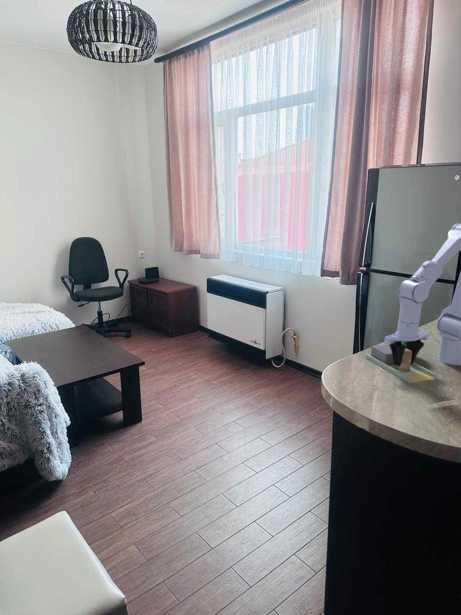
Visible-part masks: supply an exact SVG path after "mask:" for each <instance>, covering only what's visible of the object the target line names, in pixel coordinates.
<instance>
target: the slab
mask: <svg viewBox="0 0 461 615" xmlns="http://www.w3.org/2000/svg"><path fill="white" fill-rule="evenodd" d="M370 351H371V352H370V356H372V357H374V358H375V359H377V360H379V361H381V362H383V363H384V364H386V365H388V366H391V365H395V364H394V360H393V355H392V351H391V348H390V346H389V345H388V344H383V345H382V344H380V345H374V346H373V345H372V346H371V350H370Z"/></svg>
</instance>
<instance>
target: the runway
mask: <svg viewBox="0 0 461 615" xmlns="http://www.w3.org/2000/svg"><path fill="white" fill-rule="evenodd" d="M364 358H366V360H368V361H370V362H371V363H374V364H375V365H377V366H379V367H381V368H382V369H384V370H385V371H387V372H389V373H391V374H393V375H394V376H396V377H397V378H399V379H401V380H403V381H405V382H407V383H408V384H411V383H419V382H425V381H431V380H437V379H438V374H437V373H435V372H433V371H431V370H429V369H428V368H425V367H423V366H422V365H419V364H418V363H415V361H414V362H413V364H410V371H409V372H401V371H398V370H396V365H391V366H388V365H386V364H384V363H383V362H381V361H379V360H377V359H375V358H374V357H372V356H371V354H368V353H366V354H365V357H364Z"/></svg>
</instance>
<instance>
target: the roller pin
mask: <svg viewBox="0 0 461 615" xmlns="http://www.w3.org/2000/svg"><path fill="white" fill-rule="evenodd" d="M411 357H412V351H411V350H409V349H405V351H404V353H403V356H402V362H401V365H400V366H397V365H396V370H398V371H401V372H409V371H410V364H411Z"/></svg>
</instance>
